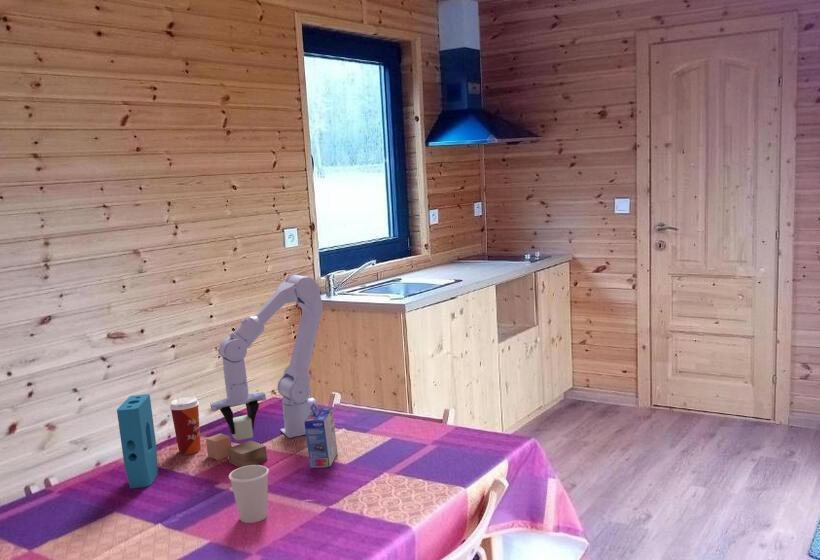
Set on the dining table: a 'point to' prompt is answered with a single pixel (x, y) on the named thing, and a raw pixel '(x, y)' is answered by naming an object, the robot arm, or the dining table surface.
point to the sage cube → (242, 427)
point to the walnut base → (247, 454)
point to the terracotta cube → (218, 446)
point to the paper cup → (186, 424)
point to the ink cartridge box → (320, 437)
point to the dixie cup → (250, 492)
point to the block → (138, 440)
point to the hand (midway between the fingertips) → (242, 431)
